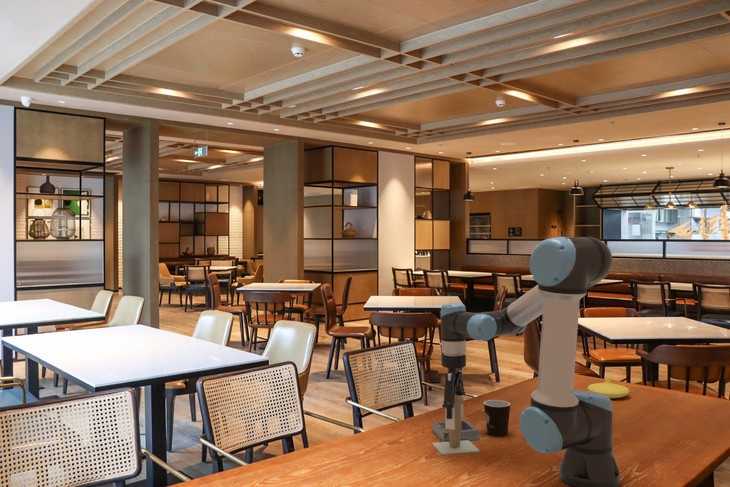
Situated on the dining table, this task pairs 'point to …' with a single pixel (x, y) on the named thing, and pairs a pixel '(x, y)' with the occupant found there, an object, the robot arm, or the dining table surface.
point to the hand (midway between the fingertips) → (454, 422)
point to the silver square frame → (467, 431)
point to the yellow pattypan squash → (609, 389)
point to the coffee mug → (497, 417)
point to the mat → (455, 448)
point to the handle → (456, 423)
